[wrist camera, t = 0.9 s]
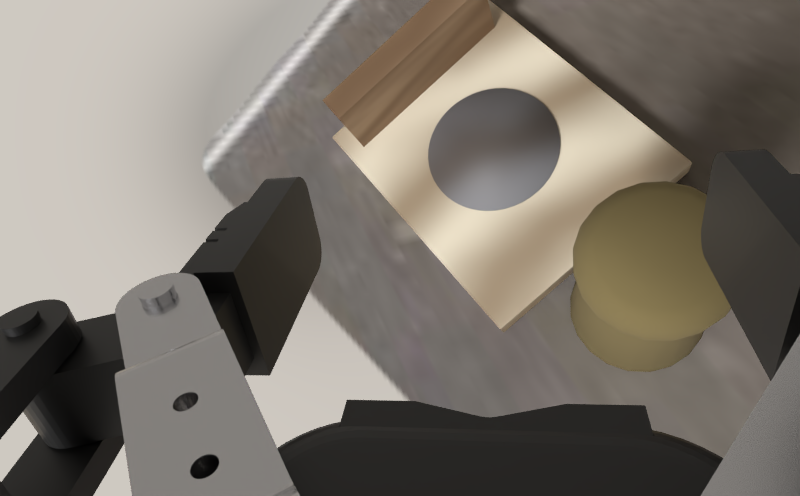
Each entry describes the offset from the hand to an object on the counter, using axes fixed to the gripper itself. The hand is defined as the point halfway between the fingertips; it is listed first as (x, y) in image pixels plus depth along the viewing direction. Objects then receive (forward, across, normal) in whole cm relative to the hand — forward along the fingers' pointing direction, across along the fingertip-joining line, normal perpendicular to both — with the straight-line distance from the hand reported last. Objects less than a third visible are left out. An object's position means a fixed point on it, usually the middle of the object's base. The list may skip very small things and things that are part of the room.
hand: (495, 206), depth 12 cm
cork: (+12, -6, +13) cm, 19 cm away
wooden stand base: (+19, 0, +7) cm, 20 cm away
